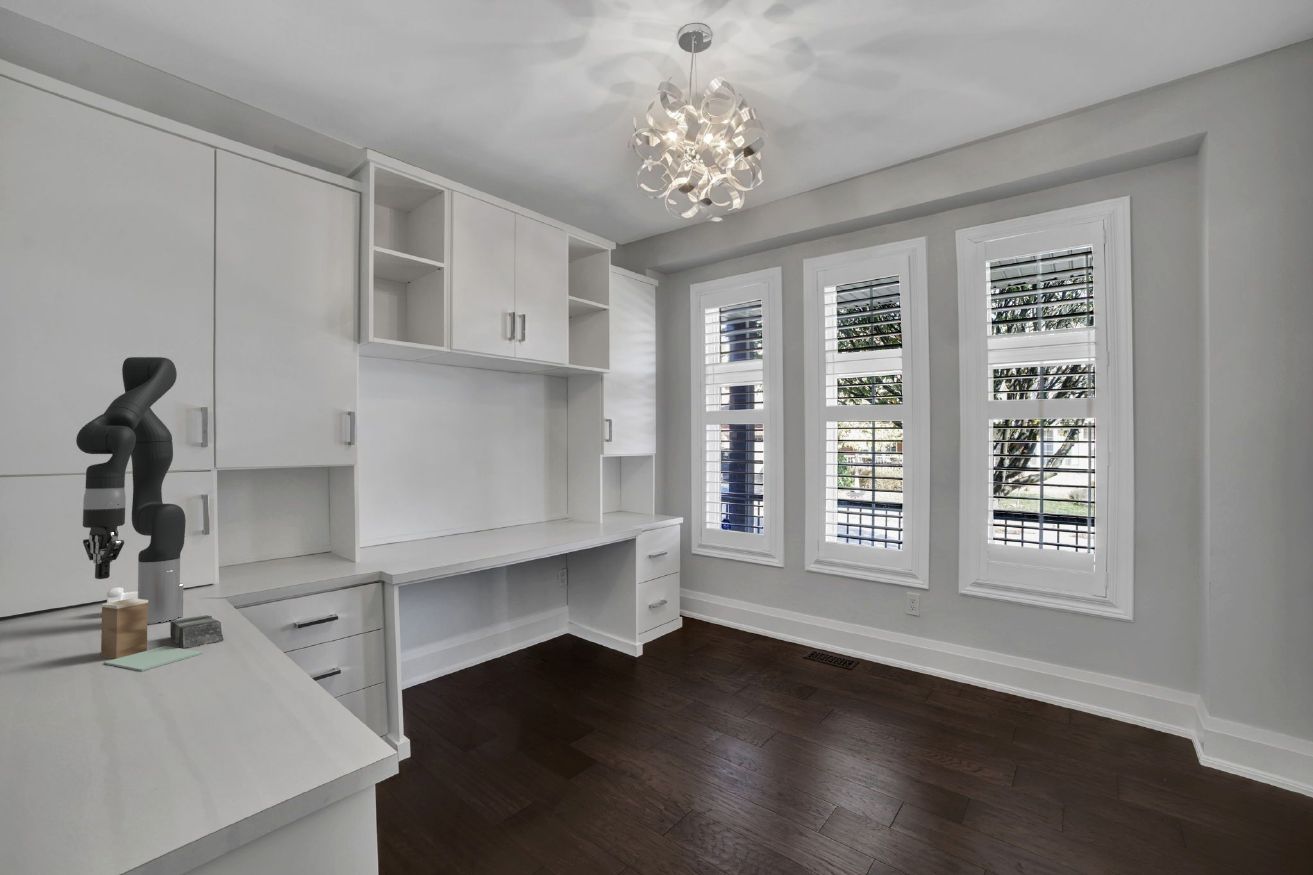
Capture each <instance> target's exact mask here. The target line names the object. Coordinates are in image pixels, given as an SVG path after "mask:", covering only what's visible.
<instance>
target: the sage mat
mask: <svg viewBox="0 0 1313 875" xmlns="http://www.w3.org/2000/svg"><path fill="white" fill-rule="evenodd" d="M202 654H203V651H199V650H192V649H188V648H187V649H183V648H182V647H180V648H179V647H174V646H168V645H163V646H160V647H156V648H152V649H147V651H144V652H140V653H136V654H132V655H129V656H125V657H121V658H117V659H114V658H113V659H111V660H106V661H104V662H103V664H104V665H109V666H114V667H118V668H123V669H128V670H133V671H139V672H143V671H144V672H146V671H148V670H151V669H155V668H158V667H162V666H165V665H169V664H172V663H176V662H179V661H182V660H185V659H190V658H193V657H196V656H199V655H202Z"/></svg>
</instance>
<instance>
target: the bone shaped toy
mask: <svg viewBox="0 0 1313 875" xmlns="http://www.w3.org/2000/svg"><path fill="white" fill-rule="evenodd" d="M124 591H125V589H124V588H123V587H119V586H118V587H112V588H109V590H108V592H107V593H106V596H107V597H106V603H110V602H115V601H121V600H126V599H131V598H135V599H138V590H136V591H126V592H124Z"/></svg>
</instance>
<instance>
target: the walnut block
mask: <svg viewBox="0 0 1313 875" xmlns="http://www.w3.org/2000/svg"><path fill="white" fill-rule="evenodd" d="M147 617H148V600H143V599H135V598H131V599H126V600H121V601H115V602H110V603H107V602H106V603H102V604H101V635H100V636H101V643H100V644H101V645H100V657H104V658H109V659H113V660H114V659H117V658H121V657H125V656H129V655H132V654H136V653H140V652H144V651H148V624H147Z"/></svg>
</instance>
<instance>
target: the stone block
mask: <svg viewBox="0 0 1313 875" xmlns="http://www.w3.org/2000/svg"><path fill="white" fill-rule="evenodd" d="M169 622H170V623H169V624H170V625H169V626H170V627H169V631H170V632H169V633H170V634H169V635H170V640H171V641H173V642H175V643H176V644H178V646H179V647H180V648H181V649H187V650H188V649H191V648H192V649H193V648H197V647H200V646H199V645H202V646H205V645H204V644H207V645H211V644H213V643H216V642H217V643H221V642H223V641H224V637H223V632H222V622H221V621H219V620H218V619H215V618H213V616H212V615H207V614H205V615H200V616H192V617H186V618H179V619H174V620H171V621H169ZM210 643H211V644H210ZM196 646H197V647H196Z"/></svg>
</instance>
